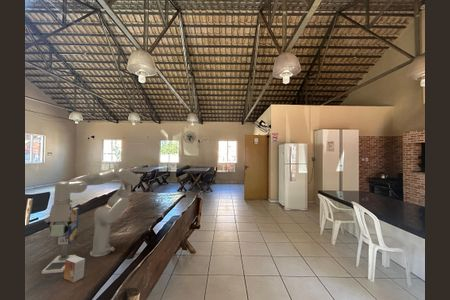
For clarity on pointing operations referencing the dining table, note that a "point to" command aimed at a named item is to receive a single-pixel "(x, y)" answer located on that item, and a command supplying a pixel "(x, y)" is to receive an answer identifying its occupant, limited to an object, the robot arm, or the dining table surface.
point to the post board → (58, 262)
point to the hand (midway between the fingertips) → (59, 232)
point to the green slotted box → (58, 229)
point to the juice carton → (70, 229)
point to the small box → (74, 268)
